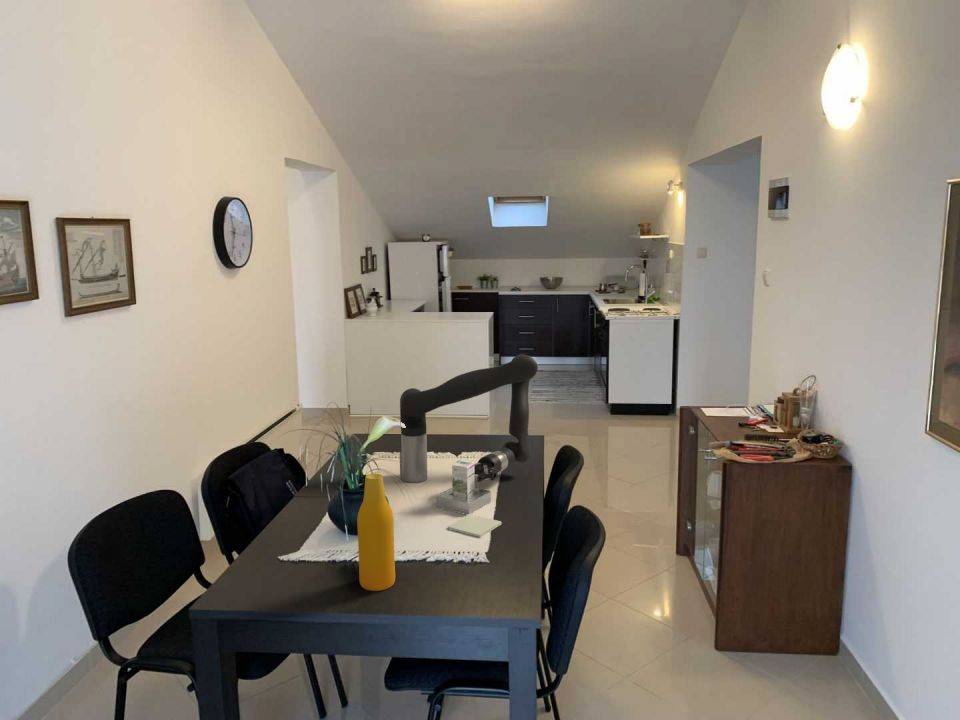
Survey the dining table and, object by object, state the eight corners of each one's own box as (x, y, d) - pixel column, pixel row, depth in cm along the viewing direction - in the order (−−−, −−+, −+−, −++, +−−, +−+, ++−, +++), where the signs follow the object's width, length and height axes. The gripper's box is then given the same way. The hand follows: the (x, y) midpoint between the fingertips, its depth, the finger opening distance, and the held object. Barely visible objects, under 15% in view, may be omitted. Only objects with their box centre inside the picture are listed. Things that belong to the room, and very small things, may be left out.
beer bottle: (356, 592, 185) (352, 482, 180) (362, 575, 194) (358, 470, 189) (393, 591, 185) (390, 482, 180) (397, 574, 194) (394, 470, 189)
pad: (447, 528, 224) (447, 526, 223) (469, 516, 233) (469, 513, 233) (480, 537, 217) (480, 535, 217) (501, 524, 227) (501, 521, 227)
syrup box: (475, 503, 244) (475, 461, 242) (467, 509, 239) (467, 466, 237) (460, 500, 247) (459, 459, 244) (452, 506, 242) (451, 464, 239)
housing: (436, 507, 241) (436, 495, 240) (458, 495, 252) (458, 484, 251) (469, 515, 234) (468, 503, 233) (490, 502, 245) (490, 491, 244)
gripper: (476, 450, 260) (449, 462, 246) (510, 456, 252) (485, 469, 239) (476, 470, 261) (449, 483, 248) (510, 477, 253) (485, 491, 240)
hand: (467, 477), depth 243 cm, fingers open, 8 cm apart
